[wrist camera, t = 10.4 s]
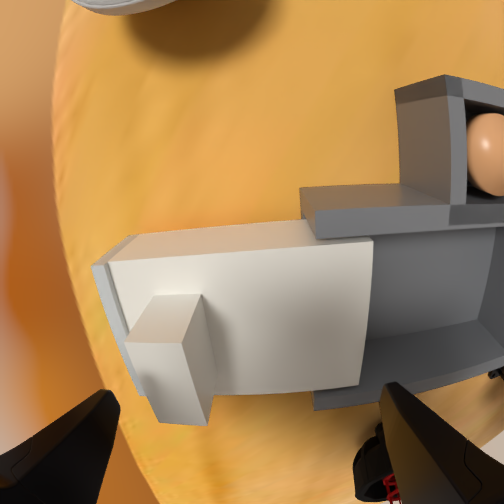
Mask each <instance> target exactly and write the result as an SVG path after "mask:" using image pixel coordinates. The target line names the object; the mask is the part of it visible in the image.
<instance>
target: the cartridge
mask: <svg viewBox="0 0 504 504" xmlns="http://www.w3.org/2000/svg"><path fill="white" fill-rule="evenodd" d="M372 263H373V240H372V239H371V238H370V237H369V236H368V235H365V236H352V237H338V238H324V239H316V238H315V236H314V234H313V232H312V230H311V228H310V226H309V224H308V222H307V219H302V220H288V221H275V222H262V223H250V224H239V225H227V226H216V227H205V228H195V229H185V230H175V231H165V232H155V233H146V234H137V235H129V236H127V237H126V238H125V239H124V240H122V241H121V242H120V243H118V244H117V245H116V246H115V247H113V248H112V249H111V250H110V251H108V252H107V253H106V254H105V255H104V256H102V257H101V258H100V259H99V260H97V261H96V262H95V263H94V264H93V265H91V269H92V272H93V276H94V279H95V282H96V286H97V289H98V292H99V295H100V298H101V301H102V304H103V307H104V310H105V313H106V316H107V319H108V321H109V324H110V327H111V330H112V332H113V335H114V337H115V340H116V343H117V345H118V348H119V350H120V353H121V355H122V357H123V360H124V362H125V365H126V367H127V369H128V372H129V374H130V376H131V378H132V381H133V383H134V385H135V387H136V389H137V391H138V394H139V396H147V398H148V401H149V403H150V405H151V407H152V409H153V411H154V413H155V415H156V417H157V419H158V421H159V422H160V423H170V424H183V425H199V426H208V421H209V416H210V411H211V406H212V400H213V395H256V394H277V393H292V392H304V391H314V390H324V389H332V388H340V387H348V386H355V385H359V379H360V373H361V367H362V360H363V353H364V346H365V339H366V331H367V322H368V313H369V303H370V291H371V278H372Z"/></svg>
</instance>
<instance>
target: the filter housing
mask: <svg viewBox="0 0 504 504" xmlns="http://www.w3.org/2000/svg"><path fill="white" fill-rule="evenodd" d="M394 91H395V100H396V110H397V122H398V137H399V161H400V184H364V185H339V186H320V187H303V188H299V190H300V206H301V220H302V219H307V222H308V224H309V226H310V228H311V230H312V232H313V234H314V236H315V238H316V239H324V238H338V237H352V236H365V235H368V236H369V237H370V238H371V239H372V240H373V263H372V278H371V291H370V303H369V313H368V322H367V331H366V339H365V346H364V353H363V360H362V367H361V373H360V379H359V385H355V386H348V387H340V388H332V389H324V390H314V391H311V395H312V402H313V410H314V411H318V410H327V409H335V408H343V407H349V406H356V405H362V404H368V403H374V402H379V401H380V396H381V392H382V388H383V385H384V384H385V383H388V382H393V381H396V382H398V383H399V384H400V385H402V386H403V387H404V388H405V389H407V390H408V391H409V392H410V393H411V394H416V393H421V392H424V391H428V390H432V389H436V388H439V387H443V386H447V385H450V384H453V383H457V382H460V381H463V380H466V379H469V378H472V377H475V376H478V375H481V374H484V373H487V372H489V371H492V370H495V369H497V368H500V367H502V366H504V196H495V195H492V194H490V193H487V192H484V191H481V190H479V189H477V188H475V187H474V186H473V185H472V184H471V183H470V182H469V181H468V179H467V135H466V122H467V121H468V120H469V119H470V118H471V117H472V116H474V115H476V114H485V113H496V114H501V115H503V116H504V89H501V88H498V87H495V86H491V85H488V84H484V83H480V82H476V81H472V80H468V79H464V78H459V77H455V76H450V75H445V74H444V75H441V76H437V77H434V78H430V79H427V80H424V81H420V82H417V83H414V84H410V85H407V86H404V87H401V88H398V89H395V90H394Z"/></svg>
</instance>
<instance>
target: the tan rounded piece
mask: <svg viewBox="0 0 504 504" xmlns="http://www.w3.org/2000/svg"><path fill="white" fill-rule="evenodd" d="M466 135H467V179H468V181H469V182H470V183H471V184H472V185H473V186H474V187H475V188H477V189H479V190H481V191H484V192H487V193H490V194H492V195H495V196H504V116H503V115H501V114H496V113H485V114H476V115H474V116H472V117H471V118H470V119H469V120H468V121H467V122H466Z"/></svg>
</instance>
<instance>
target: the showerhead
mask: <svg viewBox="0 0 504 504" xmlns="http://www.w3.org/2000/svg"><path fill="white" fill-rule="evenodd" d="M72 1H73V2H75V3H76V4H78V5H80V6H82V7H84V8H86V9H88V10H90V11H93V12H95V13H99V14H104V15H129V14H135V13H140V12H145V11H148V10H152V9H155V8H158V7H161V6H164V5H166V4H169V3H171V2H174V1H176V0H72Z"/></svg>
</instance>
